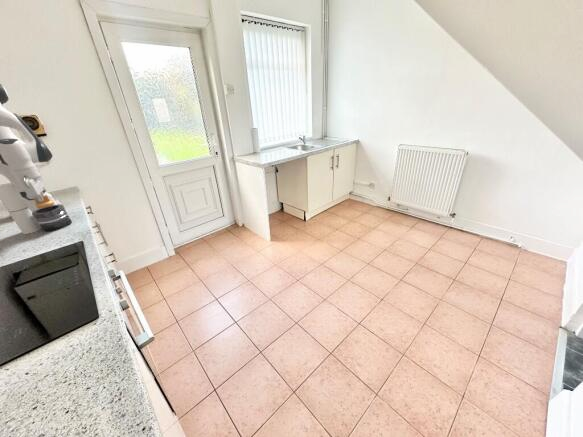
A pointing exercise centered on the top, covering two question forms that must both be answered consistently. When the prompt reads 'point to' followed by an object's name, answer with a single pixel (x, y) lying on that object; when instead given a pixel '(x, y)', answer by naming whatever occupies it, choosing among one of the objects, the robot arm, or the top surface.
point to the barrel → (52, 217)
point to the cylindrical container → (18, 208)
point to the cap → (45, 203)
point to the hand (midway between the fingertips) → (42, 200)
